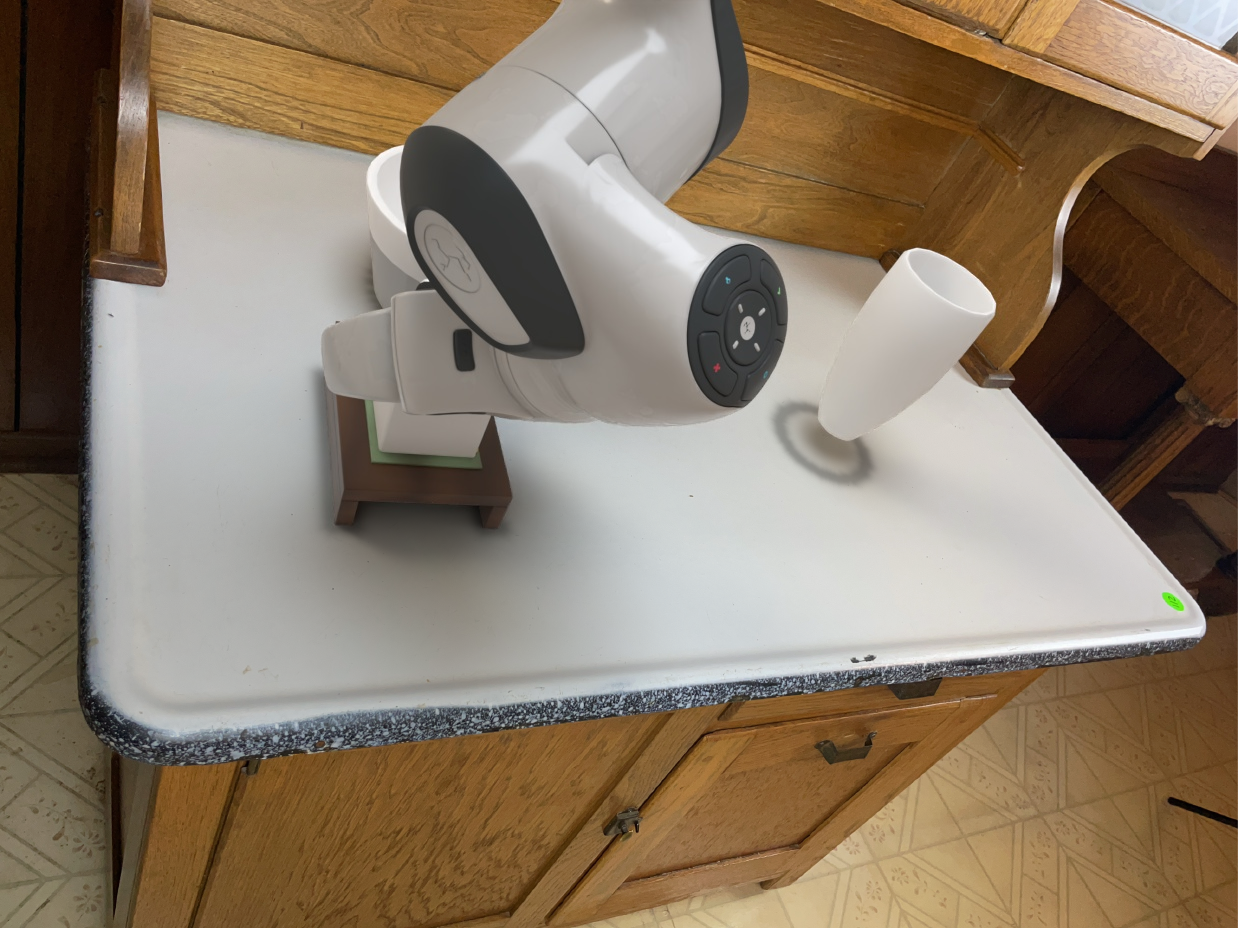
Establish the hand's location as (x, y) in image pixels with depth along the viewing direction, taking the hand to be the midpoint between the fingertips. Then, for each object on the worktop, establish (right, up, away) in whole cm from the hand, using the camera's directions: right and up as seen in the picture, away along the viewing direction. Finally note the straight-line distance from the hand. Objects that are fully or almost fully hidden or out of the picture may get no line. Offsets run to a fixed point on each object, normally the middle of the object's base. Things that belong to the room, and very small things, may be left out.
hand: (440, 354), depth 60 cm
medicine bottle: (-2, -5, +4) cm, 7 cm away
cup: (+34, -6, +30) cm, 46 cm away
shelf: (-4, -7, +7) cm, 11 cm away
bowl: (-4, +8, +22) cm, 24 cm away
